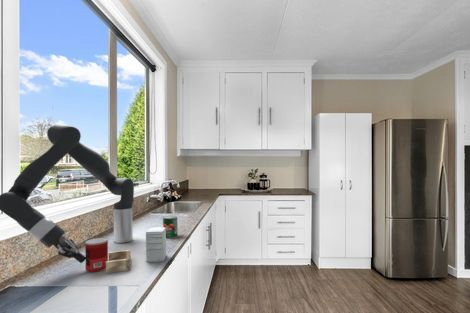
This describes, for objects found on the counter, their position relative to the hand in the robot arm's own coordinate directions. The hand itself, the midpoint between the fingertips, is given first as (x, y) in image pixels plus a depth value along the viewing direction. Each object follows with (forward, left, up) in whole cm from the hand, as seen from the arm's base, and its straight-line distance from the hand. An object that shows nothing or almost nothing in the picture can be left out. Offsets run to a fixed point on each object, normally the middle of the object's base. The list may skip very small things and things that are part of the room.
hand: (84, 260), depth 108 cm
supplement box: (+12, +25, -4) cm, 28 cm away
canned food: (+2, +4, -4) cm, 6 cm away
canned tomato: (-12, +50, -4) cm, 51 cm away
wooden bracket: (+6, +11, -4) cm, 13 cm away
